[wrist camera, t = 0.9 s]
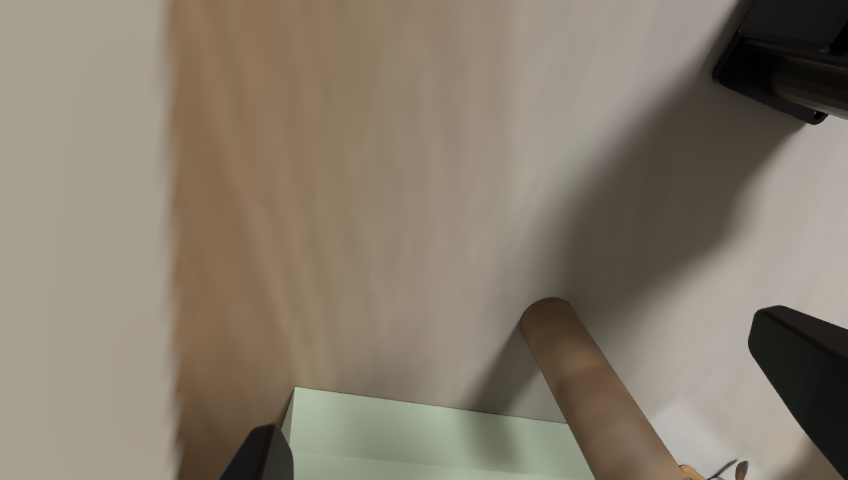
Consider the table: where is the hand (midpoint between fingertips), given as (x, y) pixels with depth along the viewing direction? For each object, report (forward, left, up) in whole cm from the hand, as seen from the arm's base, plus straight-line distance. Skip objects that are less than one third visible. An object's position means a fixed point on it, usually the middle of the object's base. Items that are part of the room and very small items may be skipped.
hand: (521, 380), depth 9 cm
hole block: (-8, +19, -13) cm, 25 cm away
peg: (-10, +7, -13) cm, 18 cm away
